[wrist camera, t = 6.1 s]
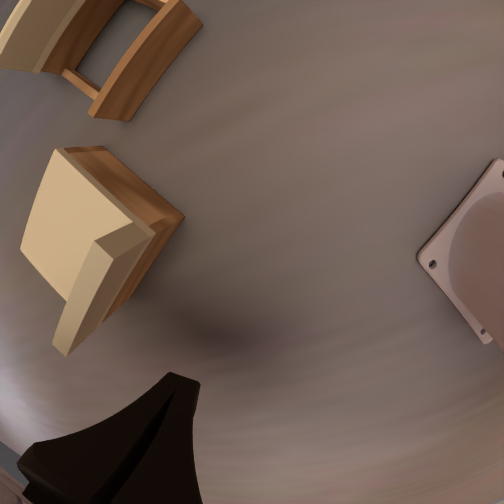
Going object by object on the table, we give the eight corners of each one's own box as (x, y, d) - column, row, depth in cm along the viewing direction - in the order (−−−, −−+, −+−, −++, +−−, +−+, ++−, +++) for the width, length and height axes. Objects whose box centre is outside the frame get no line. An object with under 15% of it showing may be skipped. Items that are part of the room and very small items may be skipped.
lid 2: (156, 233, 13) (113, 259, 9) (101, 323, 15) (66, 357, 12) (63, 148, 12) (12, 153, 9) (26, 246, 14) (-14, 265, 11)
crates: (420, -39, 8) (437, -65, 5) (130, 297, 18) (101, 322, 15) (235, -118, 7) (225, -143, 4) (8, 169, 17) (-24, 175, 14)
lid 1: (109, -28, 9) (73, -52, 5) (38, 73, 11) (-6, 68, 8) (56, -40, 8) (25, -55, 5) (1, 43, 10) (-34, 38, 7)
